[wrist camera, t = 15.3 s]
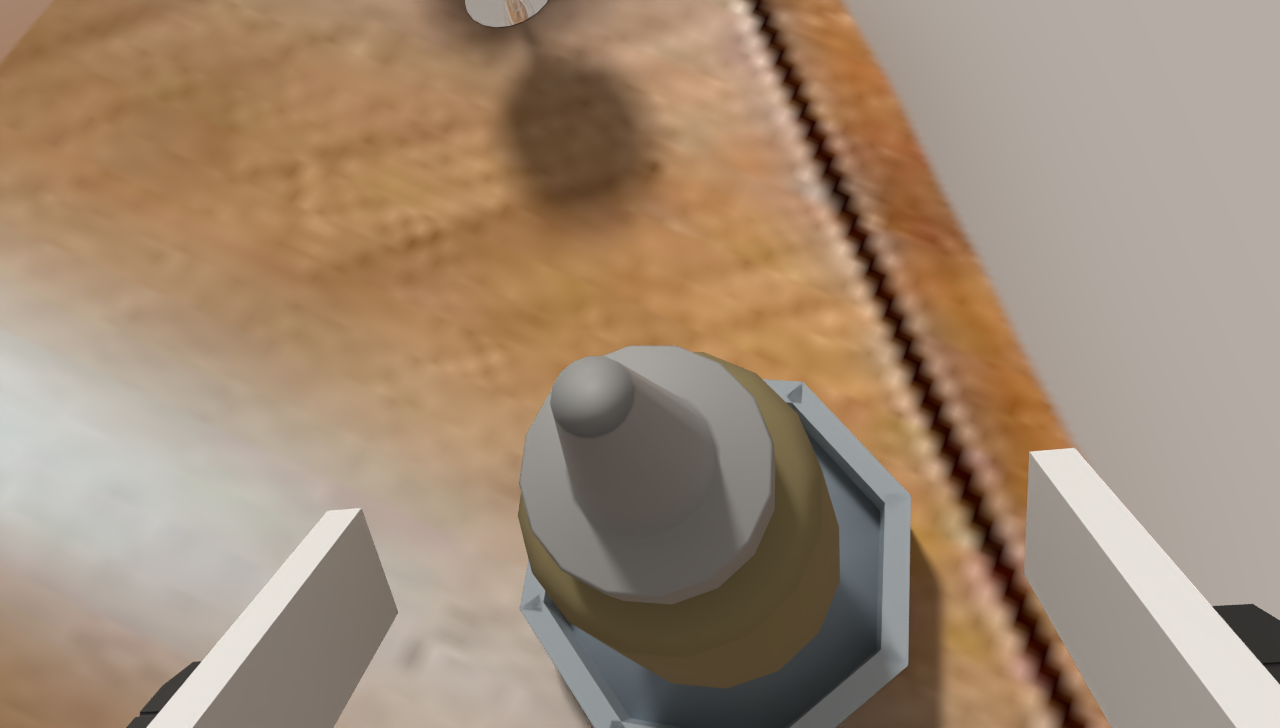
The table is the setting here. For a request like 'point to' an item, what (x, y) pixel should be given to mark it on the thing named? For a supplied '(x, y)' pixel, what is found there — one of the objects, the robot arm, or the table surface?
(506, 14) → the wineglass
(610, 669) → the octagonal tray
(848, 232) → the table surface
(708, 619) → the squeeze bottle
